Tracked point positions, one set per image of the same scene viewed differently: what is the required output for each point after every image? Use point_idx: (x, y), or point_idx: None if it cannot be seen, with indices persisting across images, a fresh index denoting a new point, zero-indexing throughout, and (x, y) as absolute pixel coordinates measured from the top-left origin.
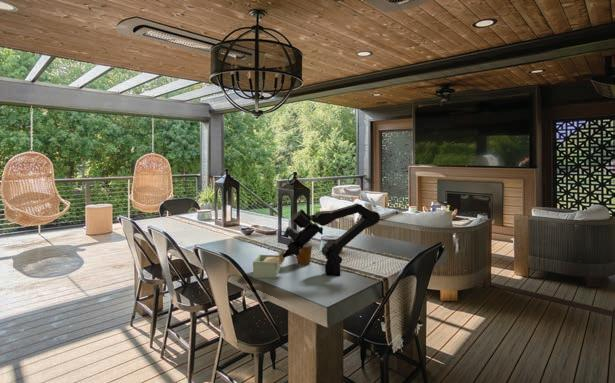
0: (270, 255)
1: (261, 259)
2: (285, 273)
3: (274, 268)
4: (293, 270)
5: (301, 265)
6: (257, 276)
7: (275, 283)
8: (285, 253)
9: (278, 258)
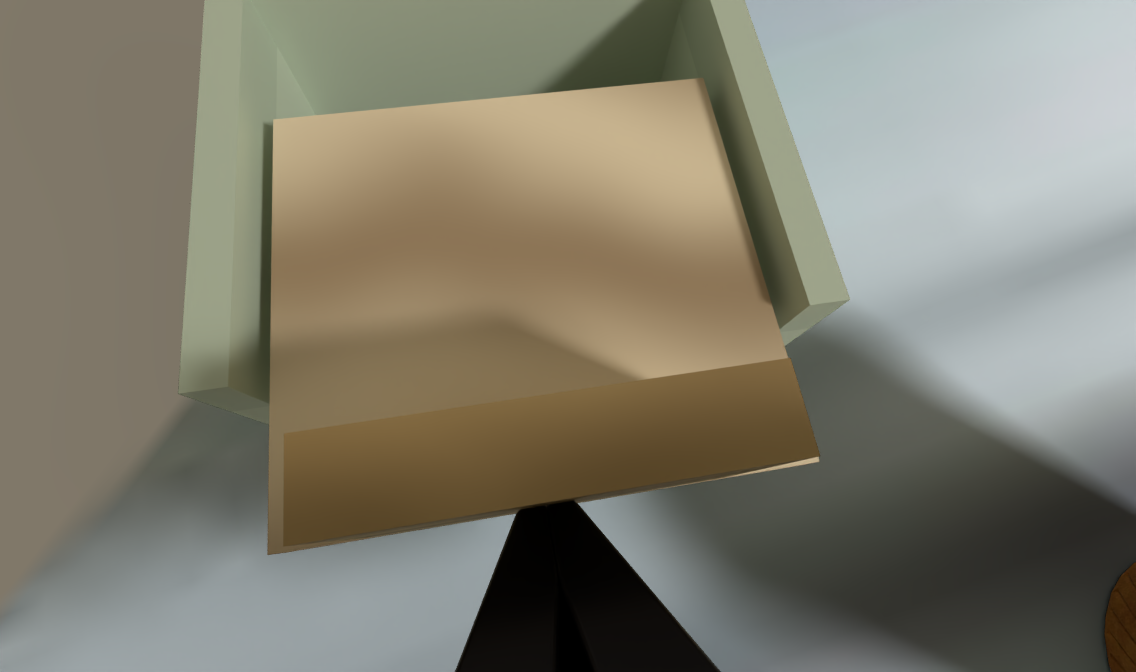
0: (747, 115)
1: (675, 39)
2: (624, 521)
3: (262, 417)
4: (812, 603)
5: (1110, 662)
6: None
7: (129, 536)
8: (473, 655)
9: (661, 338)
